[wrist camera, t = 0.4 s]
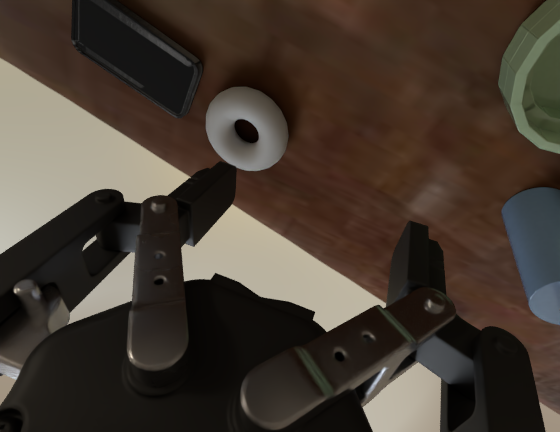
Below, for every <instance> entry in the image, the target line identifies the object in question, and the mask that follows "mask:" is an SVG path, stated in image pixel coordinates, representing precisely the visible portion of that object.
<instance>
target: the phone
mask: <svg viewBox="0 0 560 432" xmlns="http://www.w3.org/2000/svg"><path fill="white" fill-rule="evenodd" d="M71 39H72V43H73V45H74V47H75V48H76V50H77V51H78V52H80V53H81V54H82V55H84V56H85V57H87V58H88V59H90V60H91V61H93V62H94V63H96V64H97V65H99V66H100V67H101V68H103V69H104V70H106V71H107V72H109V73H110V74H112V75H113V76H115V77H116V78H118V79H119V80H121V81H122V82H124V83H125V84H126V85H128V86H129V87H131V88H132V89H134V90H135V91H137V92H138V93H140V94H141V95H143V96H144V97H146V98H147V99H149V100H150V101H151V102H153V103H154V104H156V105H157V106H159V107H160V108H162V109H163V110H165V111H166V112H168V113H169V114H171V115H172V116H174V117H175V118H182V117H183V116H185V115H186V114H187V113H188V112H189V109H190V107H191V104H192V101H193V98H194V95H195V92H196V90H197V87H198V84H199V81H200V78H201V75H202V72H203V67H202V64H201V62H200V60H199V59H198V58H197V57H195V56H194V55H192V54H191V53H190V52H188V51H187V50H185V49H184V48H183V47H181V46H180V45H178V44H177V43H176V42H174V41H173V40H171V39H170V38H169V37H167V36H166V35H164V34H163V33H162V32H160V31H159V30H157V29H156V28H155V27H153V26H152V25H150V24H149V23H148V22H146V21H145V20H143V19H142V18H141V17H139V16H138V15H136V14H135V13H134V12H132V11H131V10H129V9H128V8H127V7H125V6H124V5H122V4H121V3H120V2H118V1H117V0H72V33H71Z"/></svg>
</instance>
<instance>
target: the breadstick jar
mask: <svg viewBox="0 0 560 432" xmlns="http://www.w3.org/2000/svg"><path fill="white" fill-rule="evenodd" d="M502 219H503V222H504V225H505V229H506V232H507V235H508V239H509V242H510V245H511V248H512V252H513V255H514V258H515V261H516V265H517V268H518V271H519V274H520V278H521V281H522V284H523V287H524V291H525V294H526V297H527V301H528V304H529V307H530V309H531V311H532V312H533V313H534V314H535V315H536V316H537V317H539V318H540V319H542V320H544V321H547V322H550V323H553V324H557V325H560V190H558V189H554V188H548V187H539V188H532V189H528V190H525V191H522V192H520V193H518V194H516V195H514V196H513V197H511V198H510V199H509V200H508V201H507V202H506V203H505V205H504V207H503V209H502Z"/></svg>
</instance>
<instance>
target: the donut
mask: <svg viewBox="0 0 560 432" xmlns="http://www.w3.org/2000/svg"><path fill="white" fill-rule="evenodd" d="M238 119H245V120H248V121H249V122H251V123H252V124H253V125H254V126H255V127H256V129H257V131H258V133H259V140H258V141H257V142H256V143H248V142H246V141H244V140H243V139H241V138H240V137H239V136H238V134H237V132H236V131H235V127H234V126H235V121H236V120H238ZM206 131H207V134H208V138H209V141H210V142H211V144H212V146H213V148H214V149H215V151H216V152H217V153H218V154H219V155H220V156H221V157H222V158H223V159H224V160H225V161H227V162H228V163H230V164H231V165H234V166H236V167H237V168H240V169H243V170H248V171H259V170H263V169H266V168H269V167H271V166H272V165H274V164H275V163H276V162H278V161H279V160H280V158H281V157H282V155H283V154H284V152H285V151H286V147H287V142H288V137H289V135H288V127H287V122H286V120H285V118H284V116H283V113H282V111H281V109H280V108H279V107H278V106H277V105H276V103H275V102H274V101H273V100H272V99H271V98H270V97H268V96H267V95H265V94H264V93H262V92H261V91H259V90H255V89H252V88H249V87H232V88H229V89H227V90H225V91H223V92H220V93H219V94H218V95H217V96H216V97H215V98H214V99H213V101H212V102H211V103H210V105H209V108H208V111H207V113H206Z"/></svg>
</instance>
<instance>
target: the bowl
mask: <svg viewBox="0 0 560 432" xmlns="http://www.w3.org/2000/svg"><path fill="white" fill-rule="evenodd" d="M498 86H499V89H500V92H501V95H502V97H503V100H504V103H505V106H506V108H507V110H508V112H509V114H510V116H511V118H512V120H513V122H514V123H515V125H516V127H517V129H518V131H519V132H520V133H521V134H523V135H524V136H525V137H526V138H528V139H529V140H530V141H531V142H532V143H534V144H535V145H536V146H537V147H538V148H540V149H544V150H548V151H552V152H555V153H559V154H560V0H546V1H545V2H544V3H543V4H542V5H541V6H540V7H539V8H538V9H537V10H536V11H535V12H534V13H533V14H532V15H530V16H529V17H528V18H527V19H526V20H525V21H524V22H523V23H522V25H521V26H520V27H519V29H518V30H517V32H516V34H515V36H514V37H513V39H512V41H511V43H510V44H509V46H508V48H507V50H506V51H505V53H504V55H503V57H502V63H501V70H500V76H499V82H498Z"/></svg>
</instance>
